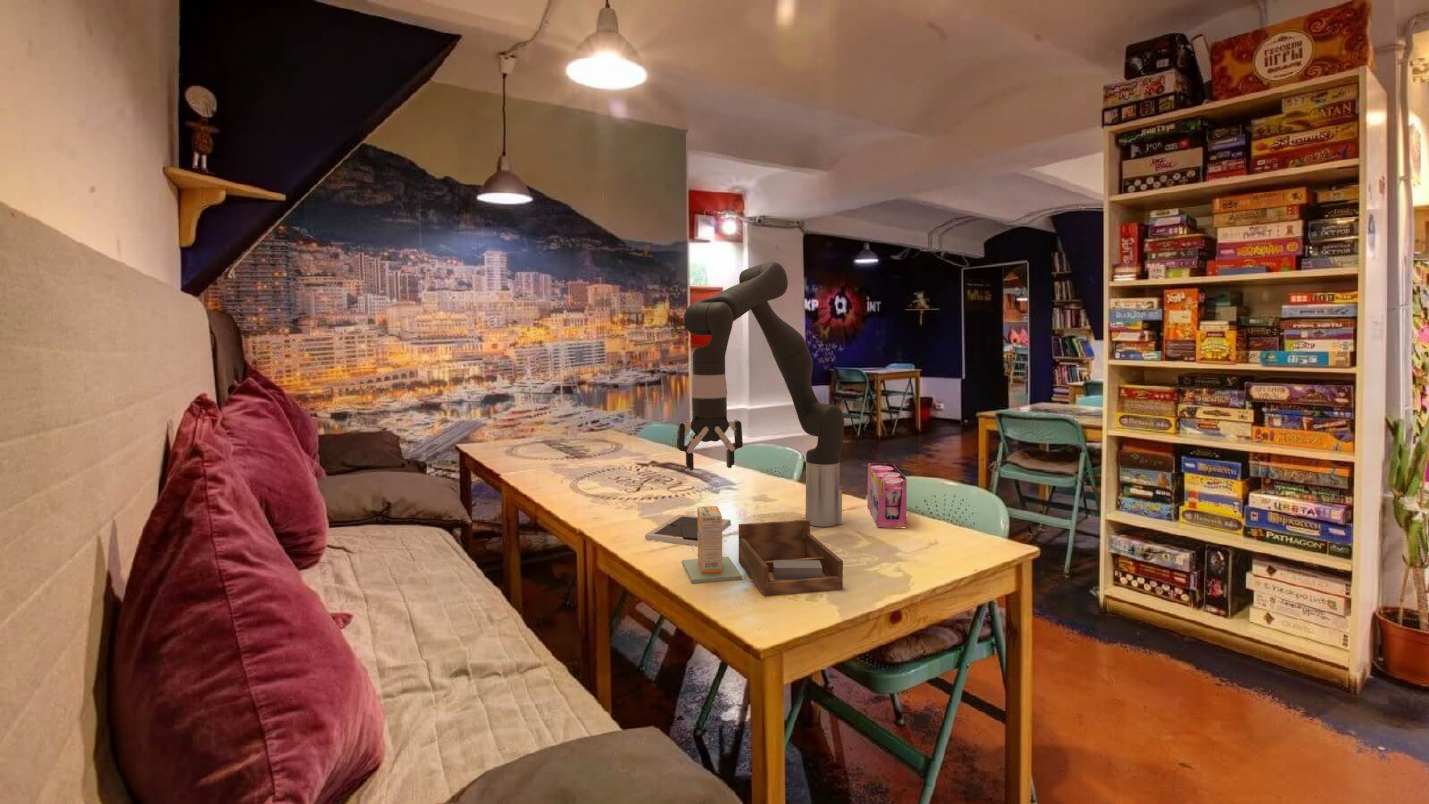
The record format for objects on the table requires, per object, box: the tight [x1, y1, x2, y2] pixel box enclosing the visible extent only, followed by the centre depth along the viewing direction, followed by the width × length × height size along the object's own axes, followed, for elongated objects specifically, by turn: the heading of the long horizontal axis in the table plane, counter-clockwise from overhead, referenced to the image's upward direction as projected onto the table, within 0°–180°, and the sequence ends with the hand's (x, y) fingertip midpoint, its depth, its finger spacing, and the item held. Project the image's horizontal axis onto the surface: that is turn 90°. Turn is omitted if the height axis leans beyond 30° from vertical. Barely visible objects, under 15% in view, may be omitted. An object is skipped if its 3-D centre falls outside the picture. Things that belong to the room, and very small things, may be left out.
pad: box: [681, 556, 743, 584], centre depth 154 cm, size 11×13×1 cm
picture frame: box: [644, 514, 732, 547], centre depth 184 cm, size 16×3×21 cm
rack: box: [738, 519, 844, 597], centre depth 151 cm, size 17×21×9 cm
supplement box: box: [696, 505, 723, 574], centre depth 153 cm, size 8×5×13 cm, turn 7°
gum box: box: [867, 463, 908, 528], centre depth 196 cm, size 24×8×14 cm, turn 175°
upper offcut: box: [773, 560, 822, 579], centre depth 145 cm, size 10×5×2 cm, turn 88°
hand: (710, 468), depth 151 cm, fingers open, 8 cm apart
